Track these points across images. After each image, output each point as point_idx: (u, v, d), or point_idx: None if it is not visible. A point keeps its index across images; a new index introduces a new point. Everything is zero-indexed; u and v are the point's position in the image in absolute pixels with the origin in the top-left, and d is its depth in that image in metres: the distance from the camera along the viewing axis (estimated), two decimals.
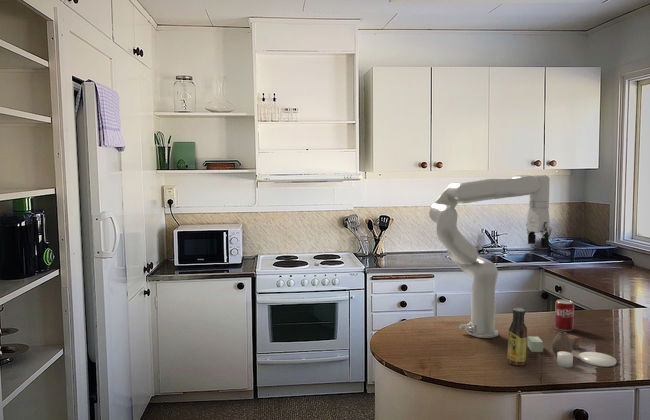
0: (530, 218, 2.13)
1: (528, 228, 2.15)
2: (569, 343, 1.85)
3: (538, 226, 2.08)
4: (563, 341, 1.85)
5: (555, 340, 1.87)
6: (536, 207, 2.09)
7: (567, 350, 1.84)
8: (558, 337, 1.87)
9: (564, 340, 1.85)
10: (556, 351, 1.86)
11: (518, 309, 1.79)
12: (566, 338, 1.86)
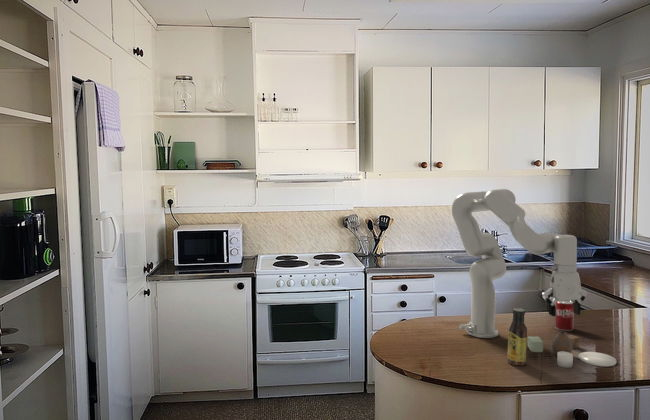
0: (565, 286, 1.83)
1: (561, 298, 1.83)
2: (569, 343, 1.85)
3: (579, 292, 1.84)
4: (563, 341, 1.85)
5: (555, 340, 1.87)
6: None
7: (567, 350, 1.84)
8: (558, 337, 1.87)
9: (564, 340, 1.85)
10: (556, 351, 1.86)
11: (518, 309, 1.79)
12: (566, 338, 1.86)
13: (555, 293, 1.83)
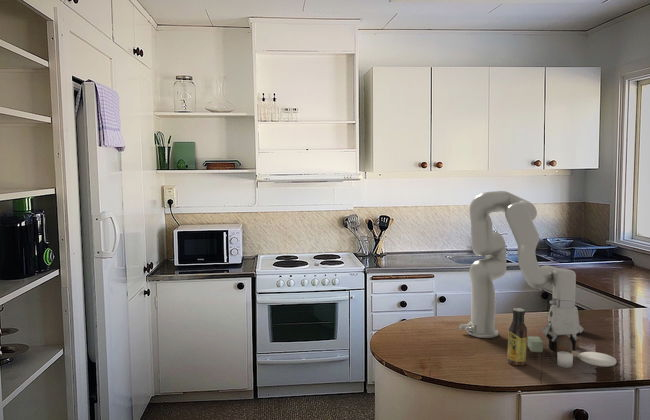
0: (563, 320, 1.84)
1: (559, 332, 1.84)
2: (569, 343, 1.85)
3: (577, 326, 1.85)
4: (563, 341, 1.85)
5: (555, 340, 1.87)
6: (574, 306, 1.84)
7: (567, 350, 1.84)
8: (558, 337, 1.87)
9: (564, 340, 1.85)
10: (556, 351, 1.86)
11: (518, 309, 1.79)
12: (566, 338, 1.86)
13: (553, 327, 1.84)
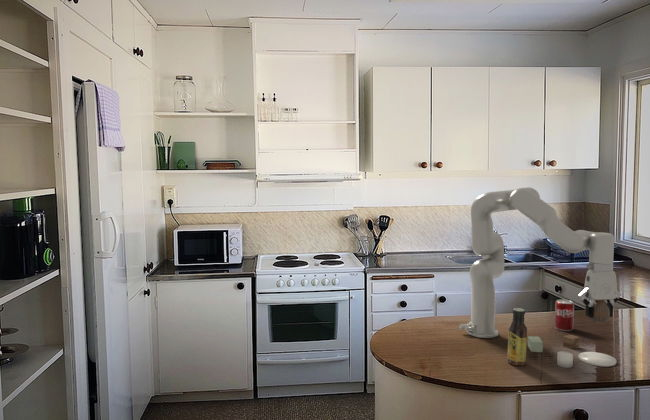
0: (601, 285, 1.78)
1: (597, 297, 1.78)
2: (607, 308, 1.79)
3: (615, 291, 1.79)
4: (601, 306, 1.79)
5: (592, 306, 1.81)
6: (612, 270, 1.78)
7: (605, 315, 1.79)
8: (595, 302, 1.81)
9: (602, 305, 1.79)
10: (593, 317, 1.80)
11: (518, 309, 1.79)
12: (604, 303, 1.80)
13: (591, 292, 1.78)
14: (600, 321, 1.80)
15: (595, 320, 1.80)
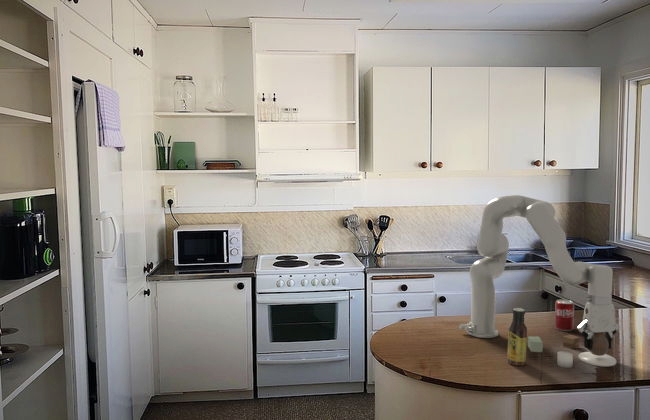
0: (600, 318, 1.79)
1: (596, 330, 1.79)
2: (606, 341, 1.80)
3: (614, 324, 1.80)
4: (600, 339, 1.80)
5: (591, 338, 1.82)
6: (611, 303, 1.79)
7: (604, 348, 1.80)
8: (594, 335, 1.82)
9: (600, 338, 1.80)
10: (592, 349, 1.81)
11: (518, 309, 1.79)
12: (602, 336, 1.81)
13: (589, 325, 1.80)
14: (599, 353, 1.81)
15: (594, 352, 1.81)
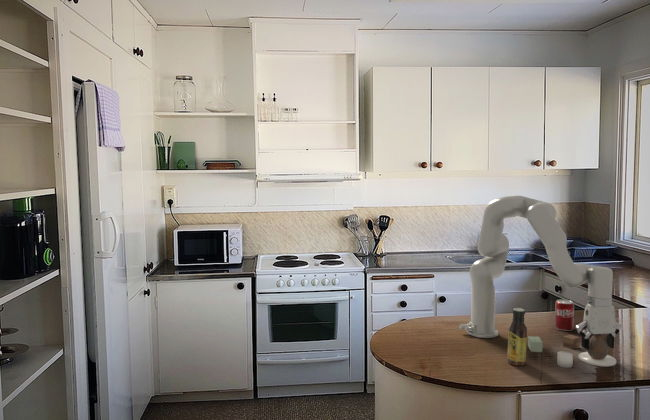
0: (600, 319, 1.79)
1: (596, 331, 1.79)
2: (605, 345, 1.80)
3: (614, 325, 1.80)
4: (599, 343, 1.81)
5: (590, 342, 1.83)
6: (611, 305, 1.79)
7: (603, 352, 1.80)
8: (593, 338, 1.82)
9: (600, 341, 1.81)
10: (591, 353, 1.82)
11: (518, 309, 1.79)
12: (602, 339, 1.81)
13: (589, 326, 1.80)
14: (598, 357, 1.81)
15: (593, 356, 1.82)
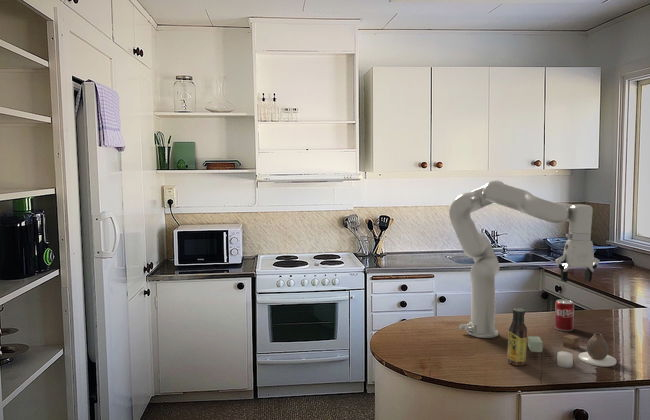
0: (578, 253, 1.90)
1: (574, 264, 1.90)
2: (605, 345, 1.80)
3: (592, 260, 1.91)
4: (599, 343, 1.80)
5: (590, 342, 1.83)
6: (589, 240, 1.90)
7: (603, 352, 1.80)
8: (593, 339, 1.82)
9: (600, 342, 1.81)
10: (591, 353, 1.82)
11: (518, 309, 1.79)
12: (602, 340, 1.81)
13: (568, 259, 1.91)
14: (598, 357, 1.81)
15: (593, 356, 1.82)
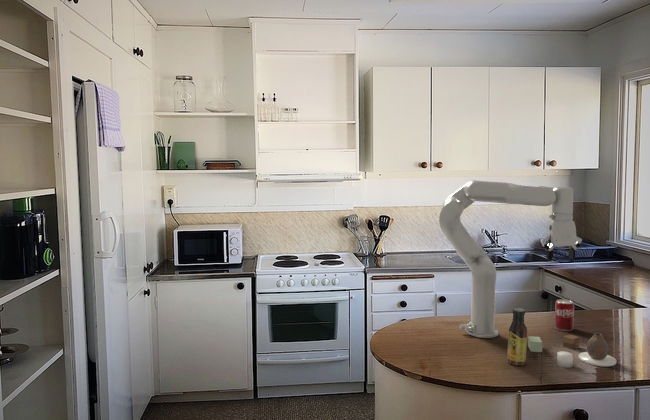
0: (562, 233, 2.00)
1: (558, 244, 2.01)
2: (605, 345, 1.80)
3: (575, 239, 2.02)
4: (599, 343, 1.80)
5: (590, 342, 1.82)
6: None
7: (603, 352, 1.80)
8: (593, 339, 1.82)
9: (600, 342, 1.81)
10: (591, 353, 1.82)
11: (518, 309, 1.79)
12: (602, 340, 1.81)
13: (552, 239, 2.01)
14: (598, 357, 1.81)
15: (593, 356, 1.82)
